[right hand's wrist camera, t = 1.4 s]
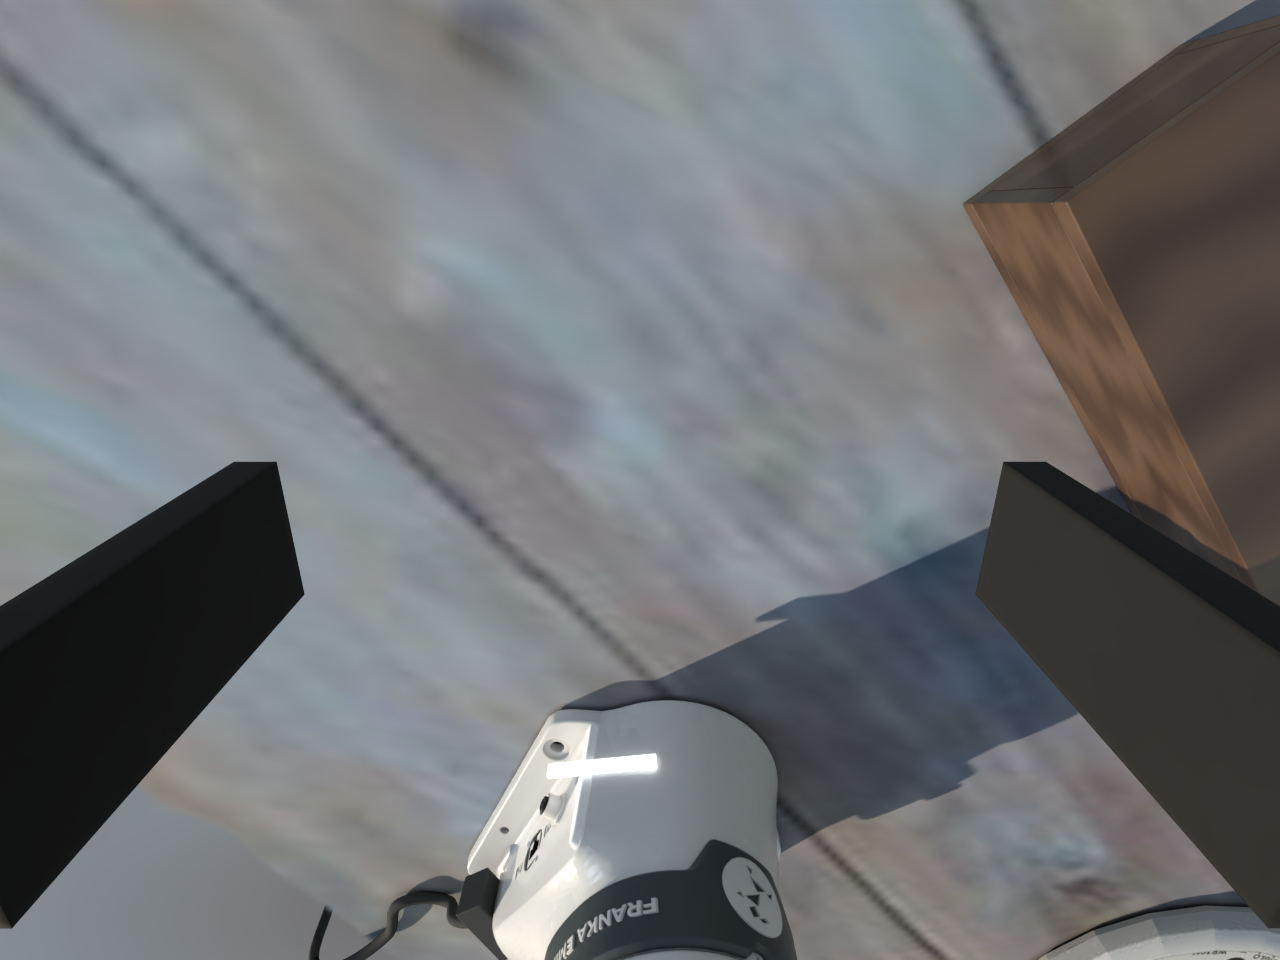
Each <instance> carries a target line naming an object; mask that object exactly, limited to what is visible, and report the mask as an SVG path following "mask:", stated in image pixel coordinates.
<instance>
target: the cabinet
mask: <svg viewBox="0 0 1280 960" xmlns="http://www.w3.org/2000/svg"><path fill="white" fill-rule="evenodd" d="M963 206H964V208H965V209H966V211H967V213H968V215H969V217H970V219H971V220H972V222H973V224H974V226H975V228H976V230H977V231H978V233H979V235H980V237H981V239H982V241H983V242H984V244H985V246H986V248H987V250H988V252H989V253H990V255H991V257H992V259H993V261H994V263H995V264H996V266H997V268H998V270H999V272H1000V273H1001V275H1002V277H1003V279H1004V281H1005V283H1006V284H1007V286H1008V288H1009V290H1010V292H1011V294H1012V295H1013V297H1014V299H1015V301H1016V303H1017V305H1018V306H1019V308H1020V310H1021V312H1022V314H1023V316H1024V317H1025V319H1026V321H1027V323H1028V325H1029V327H1030V328H1031V330H1032V332H1033V334H1034V336H1035V337H1036V339H1037V341H1038V343H1039V345H1040V347H1041V348H1042V350H1043V352H1044V354H1045V356H1046V358H1047V359H1048V361H1049V363H1050V365H1051V367H1052V369H1053V370H1054V372H1055V374H1056V376H1057V378H1058V380H1059V381H1060V383H1061V385H1062V387H1063V389H1064V391H1065V392H1066V394H1067V396H1068V398H1069V400H1070V401H1071V403H1072V405H1073V407H1074V409H1075V411H1076V412H1077V414H1078V416H1079V418H1080V420H1081V422H1082V423H1083V425H1084V427H1085V429H1086V431H1087V433H1088V434H1089V436H1090V438H1091V440H1092V442H1093V444H1094V445H1095V447H1096V449H1097V451H1098V453H1099V455H1100V456H1101V458H1102V460H1103V462H1104V464H1105V465H1106V467H1107V469H1108V471H1109V473H1110V475H1111V476H1112V478H1113V480H1114V482H1115V484H1116V486H1117V487H1118V489H1119V491H1120V493H1121V495H1122V497H1123V498H1124V500H1125V502H1126V504H1127V506H1128V508H1129V509H1130V511H1131V513H1132V515H1133V516H1134V517H1136V518H1138V519H1139V520H1141V521H1142V522H1144V523H1146V524H1147V525H1149V526H1150V527H1152V528H1154V529H1155V530H1157V531H1159V532H1160V533H1162V534H1163V535H1165V536H1167V537H1168V538H1170V539H1172V540H1173V541H1175V542H1176V543H1178V544H1180V545H1181V546H1183V547H1184V548H1186V549H1188V550H1189V551H1191V552H1193V553H1194V554H1196V555H1197V556H1199V557H1201V558H1202V559H1204V560H1206V561H1207V562H1209V563H1210V564H1212V565H1214V566H1215V567H1217V568H1218V569H1220V570H1222V571H1223V572H1225V573H1227V574H1228V575H1230V576H1231V577H1233V578H1235V579H1236V580H1238V581H1240V582H1241V583H1243V584H1244V585H1246V586H1248V587H1249V588H1251V589H1252V590H1254V591H1256V592H1257V593H1259V594H1261V595H1262V596H1264V597H1265V598H1267V599H1269V600H1270V601H1272V602H1274V603H1275V604H1277V605H1278V606H1280V15H1278V16H1275V17H1271V18H1268V19H1265V20H1262V21H1258V22H1255V23H1252V24H1248V25H1245V26H1242V27H1238V28H1235V29H1232V30H1229V31H1225V32H1222V33H1219V34H1215V35H1212V36H1209V37H1205V38H1202V39H1199V40H1195V41H1191V42H1188V43H1185V44H1182V45H1180V46H1178V47H1177V48H1176V49H1174V50H1173V51H1172V52H1170V53H1169V54H1167V55H1166V56H1165V57H1163V58H1162V59H1161V60H1159V61H1158V62H1156V63H1155V64H1154V65H1152V66H1151V67H1150V68H1148V69H1147V70H1146V71H1144V72H1143V73H1141V74H1140V75H1139V76H1137V77H1136V78H1135V79H1133V80H1132V81H1130V82H1129V83H1128V84H1126V85H1125V86H1124V87H1122V88H1121V89H1119V90H1118V91H1117V92H1115V93H1114V94H1113V95H1111V96H1110V97H1109V98H1107V99H1106V100H1104V101H1103V102H1102V103H1100V104H1099V105H1098V106H1096V107H1095V108H1093V109H1092V110H1091V111H1089V112H1088V113H1087V114H1085V115H1084V116H1083V117H1081V118H1080V119H1078V120H1077V121H1076V122H1074V123H1073V124H1072V125H1070V126H1069V127H1067V128H1066V129H1065V130H1063V131H1062V132H1061V133H1059V134H1058V135H1056V136H1055V137H1054V138H1052V139H1051V140H1050V141H1048V142H1047V143H1046V144H1044V145H1043V146H1041V147H1040V148H1039V149H1037V150H1036V151H1035V152H1033V153H1032V154H1030V155H1029V156H1028V157H1026V158H1025V159H1024V160H1022V161H1021V162H1019V163H1018V164H1017V165H1015V166H1014V167H1013V168H1011V169H1010V170H1009V171H1007V172H1006V173H1004V174H1003V175H1002V176H1000V177H999V178H998V179H996V180H995V181H993V182H992V183H991V184H989V185H988V186H987V187H985V188H984V189H982V190H981V191H980V192H978V193H977V194H976V195H974V196H973V197H972V198H970V199H969V200H967V201H966V202H965V203H963Z"/></svg>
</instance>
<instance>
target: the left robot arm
mask: <svg viewBox="0 0 1280 960" xmlns="http://www.w3.org/2000/svg"><path fill="white" fill-rule="evenodd" d="M554 742H561V743H562V744H556V743H554ZM777 791H778V775H777V769H776V766H775V762H774V760H773V757H772V755H771V753H770V751H769V749H768V748H767V746H766V745H765V743H764V742H763V740H762V739H761V738H760V737H759V736H758V735H757V734H756V733H755V732H754V731H753V730H752V729H751V728H750V727H749V726H747V725H746V724H745V723H743V722H742V721H740V720H739V719H737V718H735V717H734V716H732V715H730V714H728V713H726V712H724V711H721V710H719V709H716V708H713V707H710V706H707V705H703V704H699V703H694V702H688V701H678V700H659V701H648V702H642V703H637V704H633V705H629V706H625V707H621V708H617V709H613V710H607V711H594V710H581V709H566V710H560V711H557V712H555V713H553V714H552V715H550V717H549V718H548V719H547V721H546V722H545V724H544V726H543V728H542V729H541V731H540V733H539V734H538V736H537V738H536V740H535V741H534V743H533V745H532V747H531V748H530V750H529V752H528V753H527V755H526V757H525V759H524V760H523V762H522V764H521V765H520V767H519V769H518V771H517V772H516V774H515V776H514V778H513V779H512V781H511V783H510V784H509V786H508V788H507V790H506V791H505V793H504V795H503V796H502V798H501V800H500V802H499V803H498V805H497V807H496V809H495V810H494V812H493V814H492V815H491V817H490V819H489V821H488V822H487V824H486V826H485V827H484V829H483V831H482V833H481V834H480V836H479V838H478V840H477V841H476V843H475V845H474V847H473V848H472V850H471V852H470V855H469V859H468V866H467V869H468V872H469V874H470V875H469V876H467V877H466V878H465V882H464V886H463V890H462V894H461V897H460V901H459V905H458V903H457V901H456V899H455V898H454V897H452V896H449V895H446V894H443V893H437V892H417V893H412V894H408V895H405V896H402V897H400V898H398V899H397V900H395V901H394V902H393V903H392V904H391V906H390V908H389V910H388V914H387V927H386V929H385V930H384V931H383V932H382V933H381V934H380V935H379V936H378V937H377V938H375V939H374V940H373V941H372V942H370V943H369V944H368V945H367V946H365V947H364V948H362V949H361V950H359V951H358V952H356V953H355V954H353V955H351V956H350V957H348V958H346V959H344V960H365V959H367V958H368V957H369V956H371V955H372V954H374V953H375V952H376V951H377V950H379V949H380V948H381V947H382V946H383V945H385V944H386V943H387V942H388V941H389V940H390V939H391V938H392V937H393V936H394V934H395V932H396V930H397V926H398V913H399V911H400V910H401V909H403V908H405V907H407V906H410V905H415V904H436V905H440V906H443V907H446V908H447V920H448V922H449V924H451V925H452V926H454V927H457V928H468V929H469V930H470V931H471V932H472V933H473V934H474V935H475V936H476V937H477V938H478V939H479V940H480V941H481V942H482V943H483V944H484V945H485V946H486V947H487V948H488V949H489V950H490V951H491V952H492V953H493V954H494V955H495V956H496V957H497V958H498V959H499V960H506V959H509V960H797V956H796V951H795V946H794V941H793V937H792V933H791V929H790V927H789V924H788V921H787V917H786V914H785V911H784V908H783V905H782V900H781V888H780V876H779V865H778V861H779V859H780V857H781V846H780V837H779V833H778V830H777V827H776V807H777ZM332 912H333V911H332V910H330V909H329V908H328V907H327V906H325V907H324V910H323V913H322V915H321V918H320V921H319V923H318V926H317V929H316V931H315V934H314V937H313V940H312V943H311V947H310V951H309V960H320V959H319V952H320V947H321V944H322V940H323V937H324V934H325V932H326V929H327V926H328V923H329V920H330V918H331V915H332Z"/></svg>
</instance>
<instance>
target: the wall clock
mask: <svg viewBox="0 0 1280 960" xmlns="http://www.w3.org/2000/svg"><path fill="white" fill-rule="evenodd" d="M1039 960H1280V928H1267V927H1266V925H1265V924H1264V923H1263V922H1262V921H1261V920H1260V919H1259V917H1258V916H1257V915H1256V914H1255V913H1254V912H1253V911H1252V909H1251V908H1250V907H1228V906H1198V907H1191V908H1184V909H1177V910H1169V911H1162V912H1155V913H1148V914H1145V915H1141V916H1138V917H1135V918H1132V919H1128V920H1125V921H1122V922H1119V923H1115V924H1112V925H1109V926H1106V927H1102V928H1099V929H1096V930H1093V931H1091V932H1089V933H1087V934H1085V935H1083V936H1081V937H1079V938H1077V939H1075V940H1073V941H1071V942H1069V943H1067V944H1065V945H1063V946H1061V947H1059V948H1057V949H1055V950H1053V951H1051V952H1049V953H1047V954H1045V955H1044V956H1043V957H1041V958H1040V959H1039Z"/></svg>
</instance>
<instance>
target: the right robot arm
mask: <svg viewBox="0 0 1280 960" xmlns="http://www.w3.org/2000/svg"><path fill="white" fill-rule="evenodd" d="M303 595H304V590H303V585H302V580H301V576H300V571H299V566H298V561H297V557H296V552H295V547H294V542H293V538H292V533H291V528H290V523H289V519H288V514H287V509H286V504H285V500H284V495H283V490H282V485H281V481H280V476H279V471H278V466H277V462H233V463H232V464H230V465H228V466H227V467H225V468H223V469H222V470H220V471H219V472H217V473H215V474H214V475H212V476H210V477H209V478H207V479H206V480H204V481H202V482H201V483H199V484H198V485H196V486H194V487H193V488H191V489H189V490H188V491H186V492H185V493H183V494H181V495H180V496H178V497H176V498H175V499H173V500H172V501H170V502H168V503H167V504H165V505H164V506H162V507H160V508H159V509H157V510H155V511H154V512H152V513H151V514H149V515H147V516H146V517H144V518H142V519H141V520H139V521H138V522H136V523H134V524H133V525H131V526H130V527H128V528H126V529H125V530H123V531H121V532H120V533H118V534H117V535H115V536H113V537H112V538H110V539H108V540H107V541H105V542H104V543H102V544H100V545H99V546H97V547H96V548H94V549H92V550H91V551H89V552H87V553H86V554H84V555H83V556H81V557H79V558H78V559H76V560H74V561H73V562H71V563H70V564H68V565H66V566H65V567H63V568H62V569H60V570H58V571H57V572H55V573H53V574H52V575H50V576H49V577H47V578H45V579H44V580H42V581H40V582H39V583H37V584H36V585H34V586H32V587H31V588H29V589H28V590H26V591H24V592H23V593H21V594H19V595H18V596H16V597H15V598H13V599H11V600H10V601H8V602H6V603H5V604H3V605H2V606H0V928H13V927H14V925H15V924H16V923H17V922H18V921H19V920H20V918H21V917H22V916H23V915H24V914H25V913H26V912H27V911H28V909H29V908H30V907H31V906H32V905H33V904H34V903H35V901H36V900H37V899H38V898H39V897H40V896H41V894H42V893H43V892H44V891H45V890H46V889H47V888H48V887H49V885H50V884H51V883H52V882H53V881H54V880H55V879H56V877H57V876H58V875H59V874H60V873H61V872H62V871H63V869H64V868H65V867H66V866H67V865H68V864H69V863H70V861H71V860H72V859H73V858H74V857H75V856H76V854H77V853H78V852H79V851H80V850H81V849H82V848H83V846H84V845H85V844H86V843H87V842H88V841H89V840H90V839H91V837H92V836H93V835H94V834H95V833H96V832H97V831H98V829H99V828H100V827H101V826H102V825H103V824H104V823H105V821H106V820H107V819H108V818H109V817H110V816H111V815H112V813H113V812H114V811H115V810H116V809H117V808H118V807H119V805H120V804H121V803H122V802H123V801H124V800H125V799H126V797H127V796H128V795H129V794H130V793H131V792H132V791H133V790H134V788H135V787H136V786H137V785H138V784H139V783H140V782H141V780H142V779H143V778H144V777H145V776H146V775H147V774H148V772H149V771H150V770H151V769H152V768H153V767H154V766H155V764H156V763H157V762H158V761H159V760H160V759H161V758H162V756H163V755H164V754H165V753H166V752H167V751H168V750H169V748H170V747H171V746H172V745H173V744H174V743H175V742H176V740H177V739H178V738H179V737H180V736H181V735H182V734H183V732H184V731H185V730H186V729H187V728H188V727H189V726H190V724H191V723H192V722H193V721H194V720H195V719H196V718H197V716H198V715H199V714H200V713H201V712H202V711H203V710H204V708H205V707H206V706H207V705H208V704H209V703H210V702H211V700H212V699H213V698H214V697H215V696H216V695H217V694H218V692H219V691H220V690H221V689H222V688H223V687H224V686H225V684H226V683H227V682H228V681H229V680H230V679H231V678H232V676H233V675H234V674H235V673H236V672H237V671H238V670H239V668H240V667H241V666H242V665H243V664H244V663H245V662H246V660H247V659H248V658H249V657H250V656H251V655H252V654H253V652H254V651H255V650H256V649H257V648H258V647H259V646H260V645H261V643H262V642H263V641H264V640H265V639H266V638H267V637H268V635H269V634H270V633H271V632H272V631H273V630H274V629H275V627H276V626H277V625H278V624H279V623H280V622H281V621H282V619H283V618H284V617H285V616H286V615H287V614H288V613H289V611H290V610H291V609H292V608H293V607H294V606H295V605H296V603H297V602H298V601H299V600H300V599H301V598H302V597H303ZM976 595H977V597H978V598H979V599H980V600H981V601H982V602H983V603H984V605H985V606H986V607H987V608H988V609H989V610H990V611H991V613H992V614H993V615H994V616H995V617H996V618H997V619H998V621H999V622H1000V623H1001V624H1002V625H1003V626H1004V627H1005V629H1006V630H1007V631H1008V632H1009V633H1010V634H1011V635H1012V637H1013V638H1014V639H1015V640H1016V641H1017V642H1018V643H1019V645H1020V646H1021V647H1022V648H1023V649H1024V650H1025V651H1026V652H1027V654H1028V655H1029V656H1030V657H1031V658H1032V659H1033V660H1034V662H1035V663H1036V664H1037V665H1038V666H1039V667H1040V668H1041V670H1042V671H1043V672H1044V673H1045V674H1046V675H1047V676H1048V678H1049V679H1050V680H1051V681H1052V682H1053V683H1054V684H1055V686H1056V687H1057V688H1058V689H1059V690H1060V691H1061V692H1062V694H1063V695H1064V696H1065V697H1066V698H1067V699H1068V700H1069V702H1070V703H1071V704H1072V705H1073V706H1074V707H1075V708H1076V710H1077V711H1078V712H1079V713H1080V714H1081V715H1082V716H1083V718H1084V719H1085V720H1086V721H1087V722H1088V723H1089V724H1090V726H1091V727H1092V728H1093V729H1094V730H1095V731H1096V732H1097V734H1098V735H1099V736H1100V737H1101V738H1102V739H1103V740H1104V742H1105V743H1106V744H1107V745H1108V746H1109V747H1110V748H1111V750H1112V751H1113V752H1114V753H1115V754H1116V755H1117V756H1118V758H1119V759H1120V760H1121V761H1122V762H1123V763H1124V764H1125V766H1126V767H1127V768H1128V769H1129V770H1130V771H1131V772H1132V774H1133V775H1134V776H1135V777H1136V778H1137V779H1138V780H1139V782H1140V783H1141V784H1142V785H1143V786H1144V787H1145V788H1146V790H1147V791H1148V792H1149V793H1150V794H1151V795H1152V796H1153V797H1154V799H1155V800H1156V801H1157V802H1158V803H1159V804H1160V805H1161V807H1162V808H1163V809H1164V810H1165V811H1166V812H1167V813H1168V815H1169V816H1170V817H1171V818H1172V819H1173V820H1174V821H1175V823H1176V824H1177V825H1178V826H1179V827H1180V828H1181V829H1182V831H1183V832H1184V833H1185V834H1186V835H1187V836H1188V837H1189V839H1190V840H1191V841H1192V842H1193V843H1194V844H1195V845H1196V847H1197V848H1198V849H1199V850H1200V851H1201V852H1202V853H1203V855H1204V856H1205V857H1206V858H1207V859H1208V860H1209V861H1210V863H1211V864H1212V865H1213V866H1214V867H1215V868H1216V869H1217V871H1218V872H1219V873H1220V874H1221V875H1222V876H1223V877H1224V879H1225V880H1226V881H1227V882H1228V883H1229V884H1230V885H1231V887H1232V888H1233V889H1234V890H1235V891H1236V892H1237V893H1238V895H1239V896H1240V897H1241V898H1242V899H1243V900H1244V901H1245V903H1246V904H1247V905H1248V906H1249V907H1250V908H1251V909H1252V911H1253V912H1254V913H1255V914H1256V915H1257V916H1258V917H1259V919H1260V920H1261V921H1262V922H1263V923H1264V924H1265V925H1266V927H1267V928H1280V606H1278V605H1277V604H1275V603H1274V602H1272V601H1270V600H1269V599H1267V598H1265V597H1264V596H1262V595H1261V594H1259V593H1257V592H1256V591H1254V590H1252V589H1251V588H1249V587H1248V586H1246V585H1244V584H1243V583H1241V582H1240V581H1238V580H1236V579H1235V578H1233V577H1231V576H1230V575H1228V574H1227V573H1225V572H1223V571H1222V570H1220V569H1218V568H1217V567H1215V566H1214V565H1212V564H1210V563H1209V562H1207V561H1206V560H1204V559H1202V558H1201V557H1199V556H1197V555H1196V554H1194V553H1193V552H1191V551H1189V550H1188V549H1186V548H1184V547H1183V546H1181V545H1180V544H1178V543H1176V542H1175V541H1173V540H1172V539H1170V538H1168V537H1167V536H1165V535H1163V534H1162V533H1160V532H1159V531H1157V530H1155V529H1154V528H1152V527H1150V526H1149V525H1147V524H1146V523H1144V522H1142V521H1141V520H1139V519H1138V518H1136V517H1134V516H1133V515H1131V514H1129V513H1128V512H1126V511H1125V510H1123V509H1121V508H1120V507H1118V506H1116V505H1115V504H1113V503H1112V502H1110V501H1108V500H1107V499H1105V498H1104V497H1102V496H1100V495H1099V494H1097V493H1095V492H1094V491H1092V490H1091V489H1089V488H1087V487H1086V486H1084V485H1082V484H1081V483H1079V482H1078V481H1076V480H1074V479H1073V478H1071V477H1070V476H1068V475H1066V474H1065V473H1063V472H1061V471H1060V470H1058V469H1057V468H1055V467H1053V466H1052V465H1050V464H1048V463H1047V462H1003V466H1002V471H1001V476H1000V481H999V485H998V490H997V495H996V500H995V504H994V509H993V514H992V519H991V523H990V528H989V533H988V538H987V542H986V547H985V552H984V557H983V561H982V566H981V571H980V576H979V580H978V585H977V590H976Z"/></svg>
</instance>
